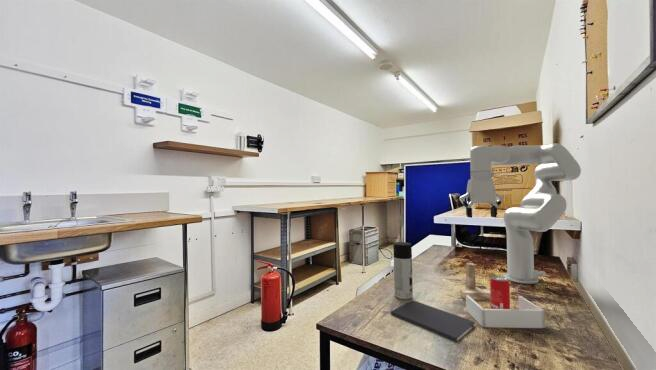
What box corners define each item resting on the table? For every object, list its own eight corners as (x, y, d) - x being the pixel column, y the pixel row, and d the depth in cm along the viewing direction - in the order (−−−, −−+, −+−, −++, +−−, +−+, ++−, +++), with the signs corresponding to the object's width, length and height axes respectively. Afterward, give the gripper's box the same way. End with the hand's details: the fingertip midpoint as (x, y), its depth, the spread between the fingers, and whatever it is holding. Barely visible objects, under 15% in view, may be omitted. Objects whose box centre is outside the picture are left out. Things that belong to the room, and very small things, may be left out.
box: (521, 311, 89) (520, 295, 89) (545, 328, 78) (545, 310, 78) (466, 310, 90) (465, 295, 90) (482, 327, 79) (482, 310, 79)
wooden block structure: (484, 290, 107) (483, 262, 107) (497, 299, 98) (496, 269, 98) (453, 290, 108) (452, 262, 108) (463, 299, 99) (462, 269, 99)
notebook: (390, 315, 88) (457, 344, 72) (390, 311, 88) (457, 338, 72) (412, 304, 96) (476, 327, 80) (412, 299, 96) (476, 322, 80)
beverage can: (487, 312, 88) (486, 275, 88) (502, 312, 88) (502, 275, 88) (497, 320, 83) (496, 281, 83) (514, 319, 83) (513, 280, 83)
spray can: (413, 300, 98) (412, 245, 98) (394, 299, 99) (393, 245, 100) (411, 293, 105) (410, 241, 105) (393, 292, 106) (393, 241, 106)
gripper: (497, 176, 115) (498, 216, 115) (455, 176, 116) (456, 216, 116) (507, 175, 108) (508, 218, 108) (463, 175, 109) (464, 218, 109)
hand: (481, 217), depth 112 cm, fingers open, 9 cm apart
